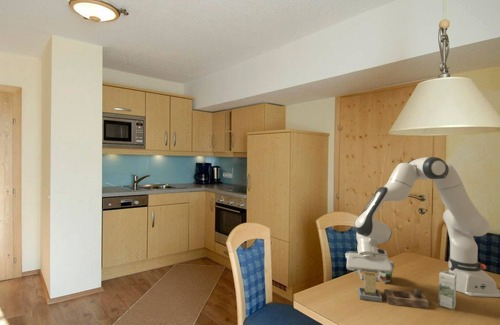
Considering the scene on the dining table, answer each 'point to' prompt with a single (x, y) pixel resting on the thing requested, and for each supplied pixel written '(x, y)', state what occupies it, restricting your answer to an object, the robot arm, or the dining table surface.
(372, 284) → the gold rectangular block
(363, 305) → the dining table surface
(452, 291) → the syrup box
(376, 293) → the tray
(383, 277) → the food container
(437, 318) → the dining table surface
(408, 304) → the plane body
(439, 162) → the robot arm
